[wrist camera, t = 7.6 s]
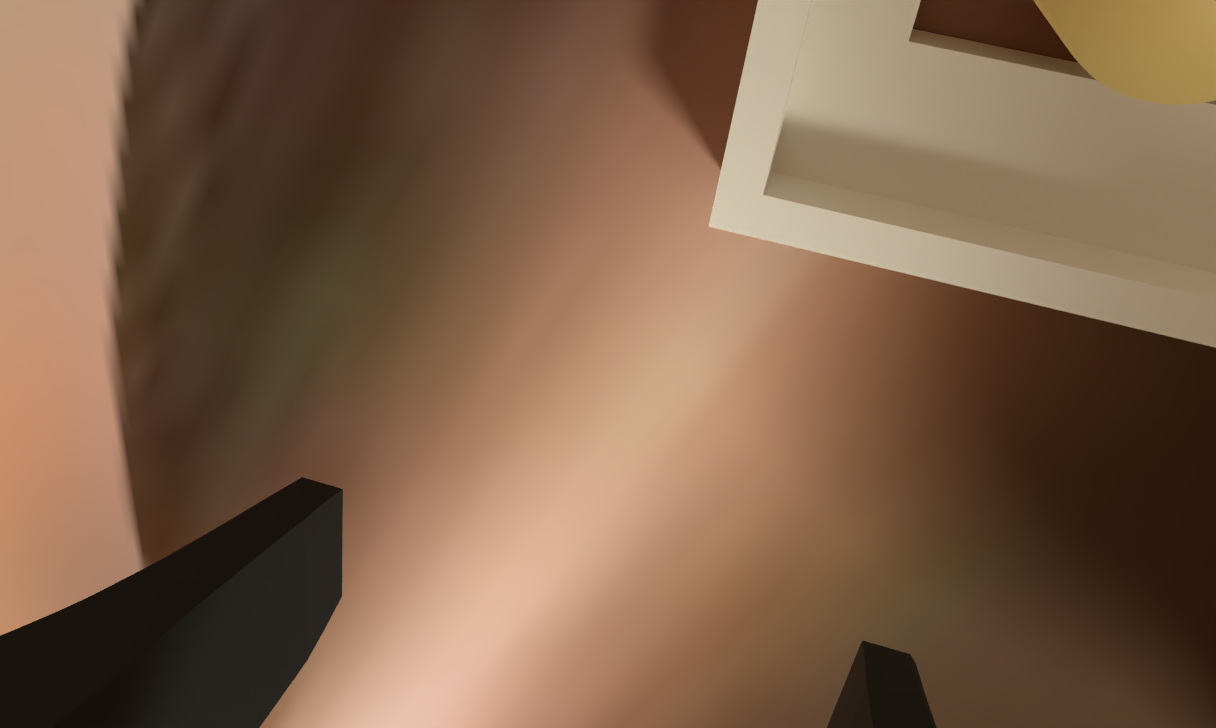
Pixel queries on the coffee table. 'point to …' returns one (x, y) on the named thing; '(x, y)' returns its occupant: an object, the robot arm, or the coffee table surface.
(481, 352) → the coffee table surface
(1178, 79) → the peg
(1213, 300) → the bore box
